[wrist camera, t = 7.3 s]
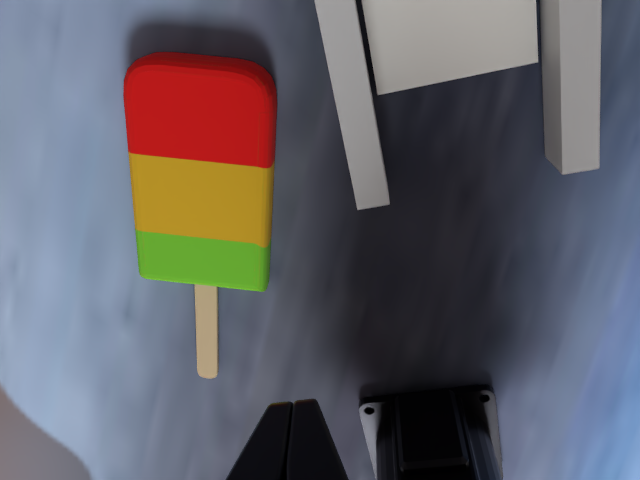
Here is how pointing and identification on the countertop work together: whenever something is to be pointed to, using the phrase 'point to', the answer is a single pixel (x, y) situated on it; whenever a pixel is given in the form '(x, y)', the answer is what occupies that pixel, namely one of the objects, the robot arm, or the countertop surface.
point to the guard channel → (463, 68)
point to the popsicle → (202, 177)
